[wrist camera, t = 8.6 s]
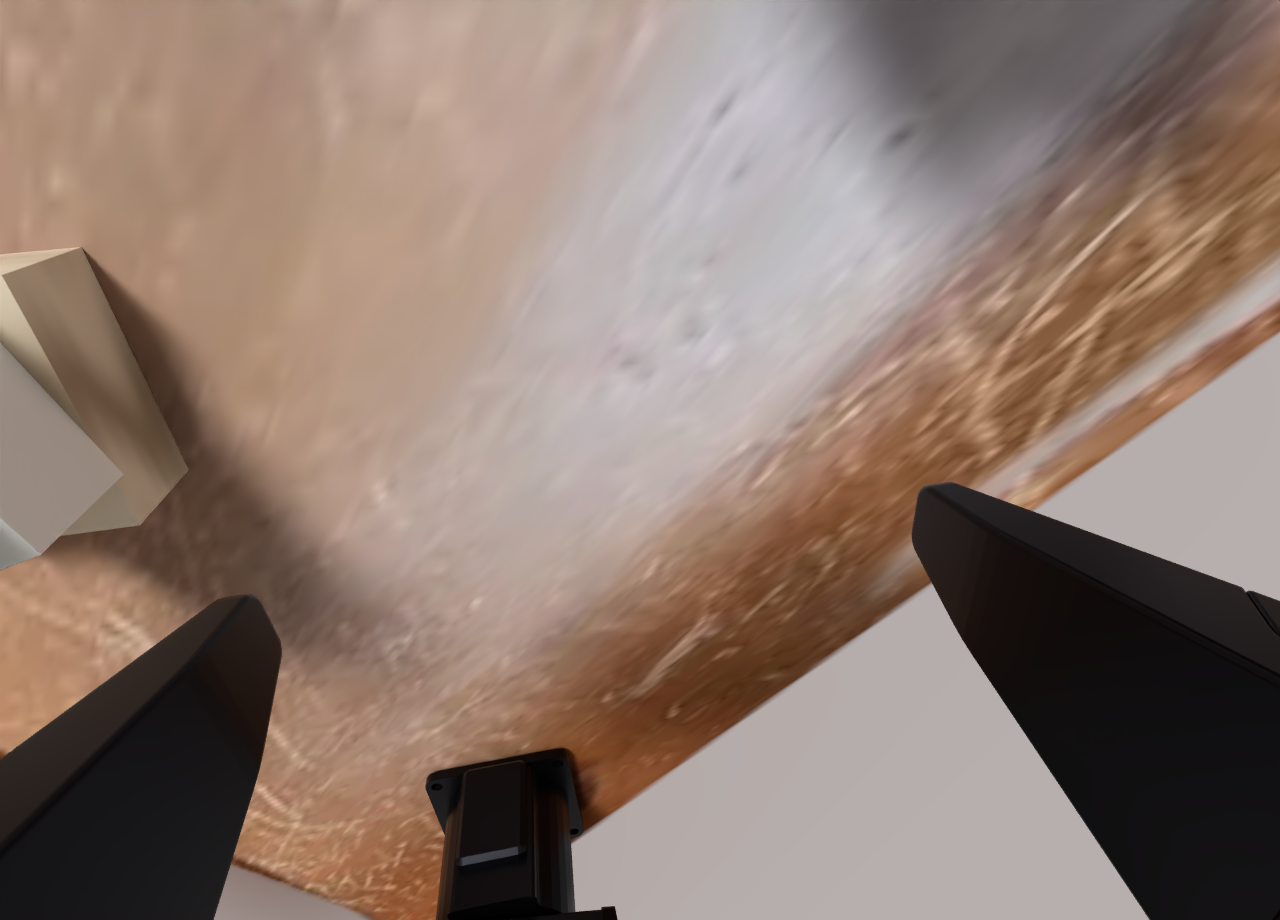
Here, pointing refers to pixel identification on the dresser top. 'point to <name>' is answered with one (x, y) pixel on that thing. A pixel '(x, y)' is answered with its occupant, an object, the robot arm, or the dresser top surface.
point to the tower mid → (42, 466)
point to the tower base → (89, 378)
